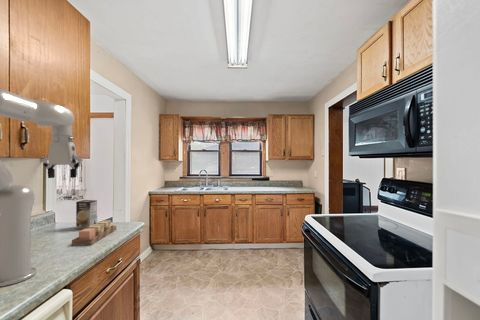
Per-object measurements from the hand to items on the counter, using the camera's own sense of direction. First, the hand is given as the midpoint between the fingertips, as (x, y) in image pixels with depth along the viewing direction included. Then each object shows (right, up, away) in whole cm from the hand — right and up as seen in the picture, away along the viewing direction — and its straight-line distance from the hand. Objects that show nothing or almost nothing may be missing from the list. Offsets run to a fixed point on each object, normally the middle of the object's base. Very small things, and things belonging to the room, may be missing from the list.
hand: (62, 177), depth 109 cm
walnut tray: (+5, -32, +17) cm, 37 cm away
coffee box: (-11, -33, +35) cm, 49 cm away
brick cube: (+5, -31, +9) cm, 33 cm away
